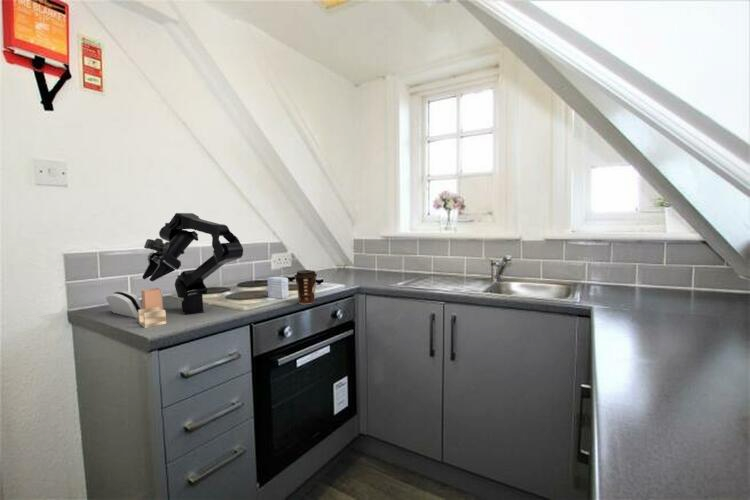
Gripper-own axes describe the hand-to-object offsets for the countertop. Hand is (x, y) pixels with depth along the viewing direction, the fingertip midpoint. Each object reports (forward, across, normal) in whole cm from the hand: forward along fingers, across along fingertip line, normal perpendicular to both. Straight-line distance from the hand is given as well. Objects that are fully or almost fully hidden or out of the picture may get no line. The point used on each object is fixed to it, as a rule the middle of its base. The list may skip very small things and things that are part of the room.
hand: (146, 279), depth 124 cm
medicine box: (-22, +5, +44) cm, 50 cm away
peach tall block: (+9, 0, +10) cm, 14 cm away
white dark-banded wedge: (+13, -12, +6) cm, 19 cm away
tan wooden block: (+11, +8, +8) cm, 16 cm away
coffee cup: (-24, +22, +47) cm, 57 cm away
